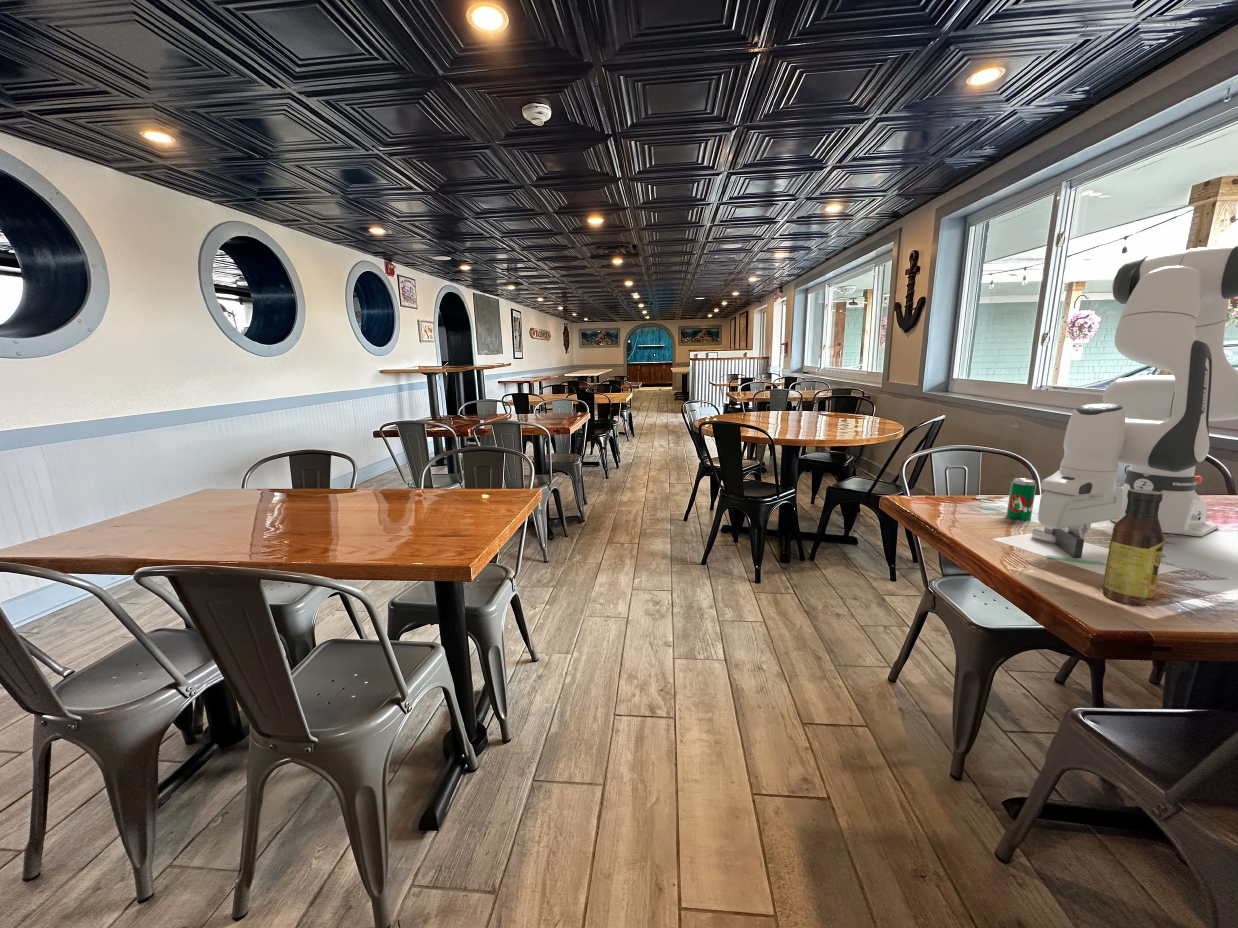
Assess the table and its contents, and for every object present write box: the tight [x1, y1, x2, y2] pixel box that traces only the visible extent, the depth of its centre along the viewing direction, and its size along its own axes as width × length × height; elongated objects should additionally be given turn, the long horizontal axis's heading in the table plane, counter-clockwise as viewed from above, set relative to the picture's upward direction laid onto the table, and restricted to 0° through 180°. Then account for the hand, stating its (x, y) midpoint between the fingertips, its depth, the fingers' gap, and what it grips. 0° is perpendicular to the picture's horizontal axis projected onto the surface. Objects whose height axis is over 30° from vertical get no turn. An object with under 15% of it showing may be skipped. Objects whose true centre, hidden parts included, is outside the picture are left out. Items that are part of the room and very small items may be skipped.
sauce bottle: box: [1102, 489, 1165, 607], centre depth 82 cm, size 6×6×20 cm
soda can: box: [1005, 477, 1037, 522], centre depth 126 cm, size 5×5×12 cm
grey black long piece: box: [1031, 526, 1085, 558], centre depth 105 cm, size 16×7×4 cm, turn 157°
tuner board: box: [991, 532, 1184, 576], centre depth 102 cm, size 19×24×2 cm
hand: (1076, 542), depth 103 cm, fingers closed
